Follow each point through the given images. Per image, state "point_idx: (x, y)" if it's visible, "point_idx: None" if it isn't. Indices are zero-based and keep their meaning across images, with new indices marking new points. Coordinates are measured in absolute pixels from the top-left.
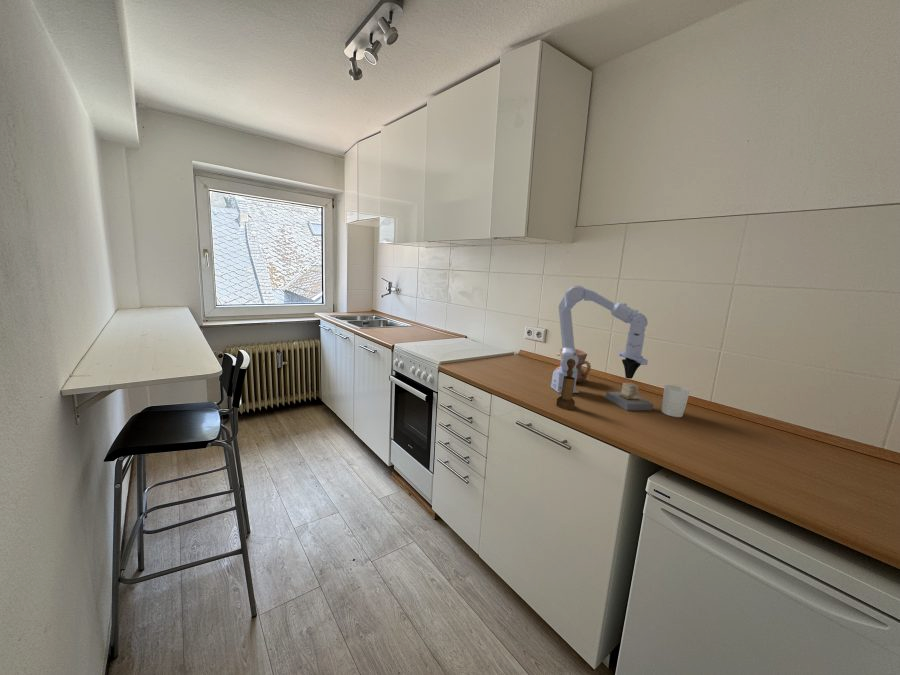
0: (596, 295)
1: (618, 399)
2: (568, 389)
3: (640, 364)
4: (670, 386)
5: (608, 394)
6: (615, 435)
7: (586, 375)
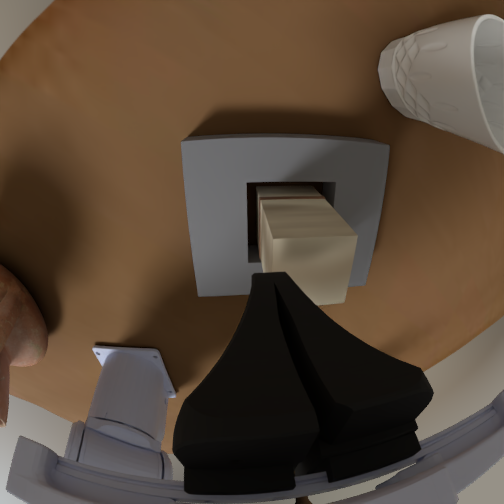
0: None
1: None
2: None
3: (416, 378)
4: (467, 50)
5: (218, 291)
6: (436, 358)
7: (15, 301)
